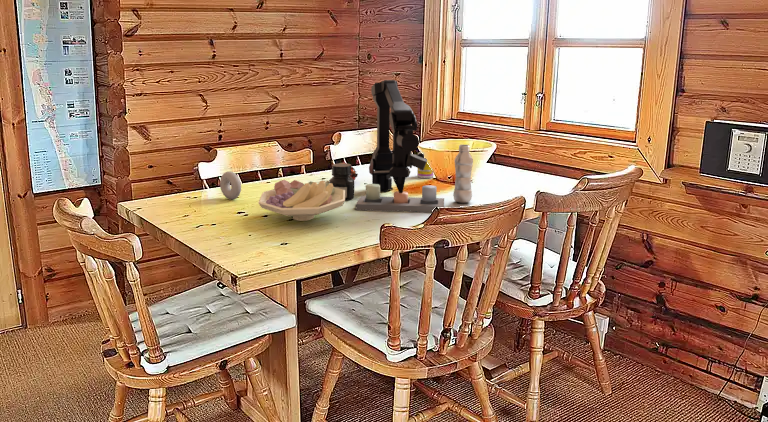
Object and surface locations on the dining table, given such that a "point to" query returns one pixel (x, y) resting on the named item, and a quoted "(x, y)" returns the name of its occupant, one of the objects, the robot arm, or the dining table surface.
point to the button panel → (398, 204)
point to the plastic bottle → (463, 175)
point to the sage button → (372, 191)
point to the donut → (235, 185)
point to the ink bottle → (343, 179)
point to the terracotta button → (401, 197)
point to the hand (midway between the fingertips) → (400, 192)
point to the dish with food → (302, 199)
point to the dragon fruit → (353, 172)
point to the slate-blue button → (429, 193)
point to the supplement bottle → (425, 169)
